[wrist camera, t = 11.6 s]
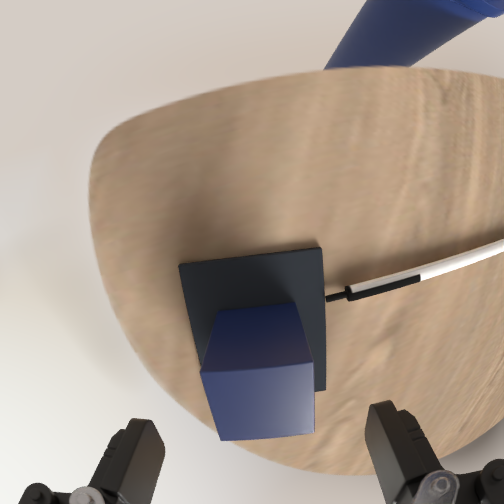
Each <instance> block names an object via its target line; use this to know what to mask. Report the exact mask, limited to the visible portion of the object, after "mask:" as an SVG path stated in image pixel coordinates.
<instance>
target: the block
mask: <svg viewBox="0 0 504 504" xmlns="http://www.w3.org/2000/svg"><path fill="white" fill-rule="evenodd" d="M200 376H201V379H202V383H203V386H204V390H205V393H206V396H207V400H208V403H209V406H210V409H211V413H212V416H213V419H214V422H215V425H216V428H217V431H218V434H219V437H220V440H221V441H237V440H255V439H268V438H279V437H288V436H296V435H303V434H310V433H314V431H315V393H314V360H313V357H312V354H311V351H310V347H309V344H308V341H307V338H306V334H305V331H304V328H303V325H302V321H301V318H300V315H299V312H298V309H297V306H296V303H295V302H293V303H285V304H277V305H269V306H260V307H252V308H242V309H233V310H222V311H218V312H217V315H216V318H215V322H214V325H213V328H212V332H211V335H210V338H209V342H208V345H207V349H206V352H205V356H204V359H203V362H202V366H201V369H200Z"/></svg>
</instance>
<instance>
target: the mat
mask: <svg viewBox="0 0 504 504" xmlns="http://www.w3.org/2000/svg"><path fill="white" fill-rule="evenodd" d="M178 267H179V272H180V278H181V282H182V287H183V292H184V297H185V302H186V306H187V311H188V315H189V319H190V324H191V328H192V332H193V336H194V340H195V345H196V349H197V353H198V356H199V360H200V364H201V366H202V362H203V359H204V356H205V352H206V349H207V345H208V342H209V338H210V335H211V332H212V328H213V325H214V322H215V318H216V315H217V312H218V311H222V310H233V309H242V308H252V307H260V306H269V305H277V304H285V303H293V302H295V303H296V306H297V309H298V312H299V315H300V318H301V321H302V325H303V328H304V331H305V334H306V338H307V341H308V344H309V347H310V351H311V354H312V357H313V360H314V392H318V391H324V390H326V319H325V292H324V273H323V257H322V248H321V247H317V248H309V249H300V250H292V251H284V252H275V253H267V254H259V255H250V256H242V257H234V258H225V259H217V260H208V261H200V262H192V263H183V264H179V265H178Z"/></svg>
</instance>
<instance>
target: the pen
mask: <svg viewBox="0 0 504 504" xmlns="http://www.w3.org/2000/svg"><path fill="white" fill-rule="evenodd" d="M503 251H504V239H501V240H499V241H496V242H493V243H490V244H487V245H484V246H481V247H479V248H476V249H473V250H470V251H467V252H464V253H460V254H457V255H454V256H451V257H448V258H445V259H442V260H438V261H435V262H432V263H429V264H425V265H422V266H419V267H415V268H412V269H408V270H405V271H401V272H398V273H394V274H391V275H387V276H384V277H380V278H376V279H372V280H369V281H365V282H361V283H357V284H353V285H349V286H346V287H345V291H343V292H339V293H335V294H331V295H328V296H325V299H326V302H331V301H335V300H339V299H343V298H347V300H348V301H354V300H358V299H362V298H365V297H369V296H373V295H376V294H380V293H383V292H387V291H390V290H394V289H397V288H401V287H404V286H407V285H410V284H414V283H417V282H420V281H422V280H425V279H428V278H431V277H434V276H437V275H440V274H443V273H446V272H449V271H452V270H455V269H458V268H460V267H463V266H466V265H469V264H472V263H474V262H477V261H480V260H482V259H485V258H488V257H490V256H493V255H496V254H498V253H501V252H503Z"/></svg>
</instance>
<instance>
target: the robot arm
mask: <svg viewBox="0 0 504 504" xmlns="http://www.w3.org/2000/svg"><path fill="white" fill-rule="evenodd" d="M365 441H366V444H367V447H368V450H369V453H370V456H371V459H372V462H373V465H374V468H375V471H376V474H377V477H378V480H379V483H380V486H381V489H382V492H383V495H384V498H385V501H386V504H504V459H496V460H493V461H491V462H489V463H488V464H487V465H486V466H485V467H484V468H483V470H481V471H476V472H471V473H466V474H454V473H452V472H451V471H447V470H445V469H444V468H443V467H442V466H441V465H440V463H439V461H438V459H437V457H436V455H435V453H434V451H433V449H432V447H431V445H430V444H429V442H428V440H427V438H426V437H425V434H424V433H423V431H422V429H420V425H419V424H418V422H417V420H416V418H415V417H414V416H413V415H412V414H410V413H409V412H408V411H406V410H405V409H404V410H401V411H397V410H396V408H395V406H394V404H393V402H392V401H391V400H387V401H383V402H379V403H375V404H371V405H370V407H369V412H368V417H367V422H366V427H365ZM107 447H108V448H107V449H106V450H105V452H104V456H103V457H102V458H101V460H100V462H99V464H98V466H97V468H96V471H95V473H94V475H93V477H92V479H91V481H90V483H89V485H88V486H87V487H80V488H78V489H76V490H74V491H73V492H72V493H60V492H52V491H51V490H50V489H49V488H48V487H47V486H46V485H44V484H42V483H33V484H31V485H29V486H28V487H27V488H26V490H25V492H24V494H23V495H22V497H21V499H20V501H19V503H18V504H150V503H151V500H152V497H153V493H154V490H155V487H156V483H157V480H158V477H159V473H160V470H161V467H162V463H163V460H164V457H165V446H164V443H163V441H162V439H161V437H160V435H159V433H158V431H157V429H156V427H155V425H154V423H153V422H152V420H147V419H137V418H132V419H131V420H130V421H129V423H128V425H127V427H126V429H120V430H119V431H118V432H117V433H116V434H115V435H114V436H113V437H112V438H111V440H110V442H109V444H108V446H107Z"/></svg>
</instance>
